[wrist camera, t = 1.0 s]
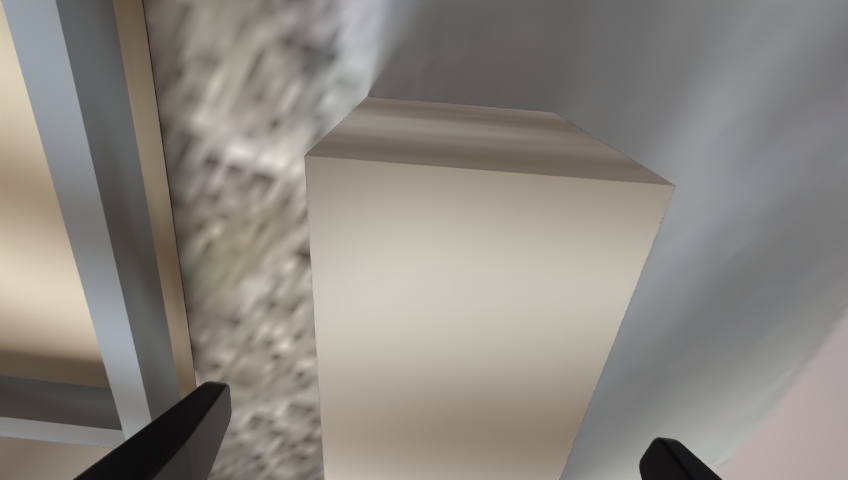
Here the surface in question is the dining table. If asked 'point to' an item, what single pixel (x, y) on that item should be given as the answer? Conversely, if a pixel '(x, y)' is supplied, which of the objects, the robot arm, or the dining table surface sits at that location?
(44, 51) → the jig board
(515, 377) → the block
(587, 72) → the dining table surface
